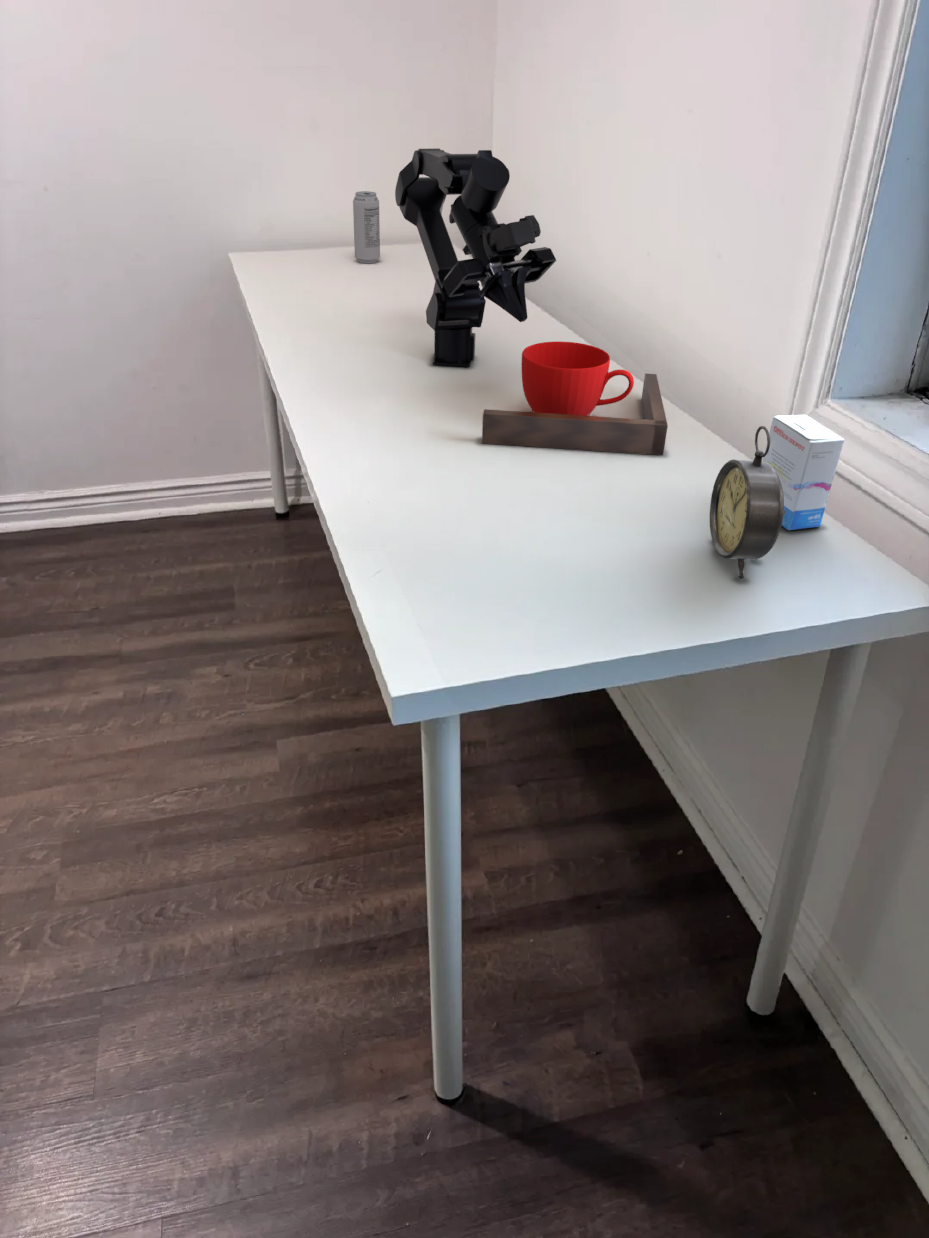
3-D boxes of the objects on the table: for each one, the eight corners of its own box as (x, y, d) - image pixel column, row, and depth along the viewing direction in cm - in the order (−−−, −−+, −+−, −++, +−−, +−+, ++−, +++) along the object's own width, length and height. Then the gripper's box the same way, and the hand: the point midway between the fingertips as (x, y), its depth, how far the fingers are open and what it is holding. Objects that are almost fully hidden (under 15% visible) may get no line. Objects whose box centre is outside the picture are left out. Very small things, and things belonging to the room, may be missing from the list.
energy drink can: (369, 257, 230) (368, 190, 221) (385, 261, 226) (384, 194, 218) (349, 260, 226) (347, 192, 218) (365, 265, 223) (363, 196, 214)
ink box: (823, 527, 117) (847, 437, 110) (787, 532, 116) (810, 441, 109) (784, 497, 124) (805, 411, 117) (751, 501, 122) (770, 414, 116)
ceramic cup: (617, 446, 136) (626, 378, 131) (506, 427, 141) (510, 361, 136) (636, 415, 147) (644, 352, 141) (531, 399, 151) (536, 337, 146)
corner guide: (481, 443, 136) (483, 413, 133) (492, 391, 154) (493, 364, 151) (663, 455, 134) (667, 425, 132) (652, 401, 152) (656, 374, 150)
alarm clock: (700, 538, 114) (725, 408, 105) (744, 537, 114) (772, 408, 105) (729, 585, 105) (759, 448, 96) (776, 584, 105) (810, 447, 96)
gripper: (457, 202, 134) (505, 299, 133) (552, 191, 144) (597, 281, 143) (423, 250, 143) (467, 341, 142) (515, 236, 153) (556, 321, 152)
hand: (524, 320), depth 145 cm, fingers closed
